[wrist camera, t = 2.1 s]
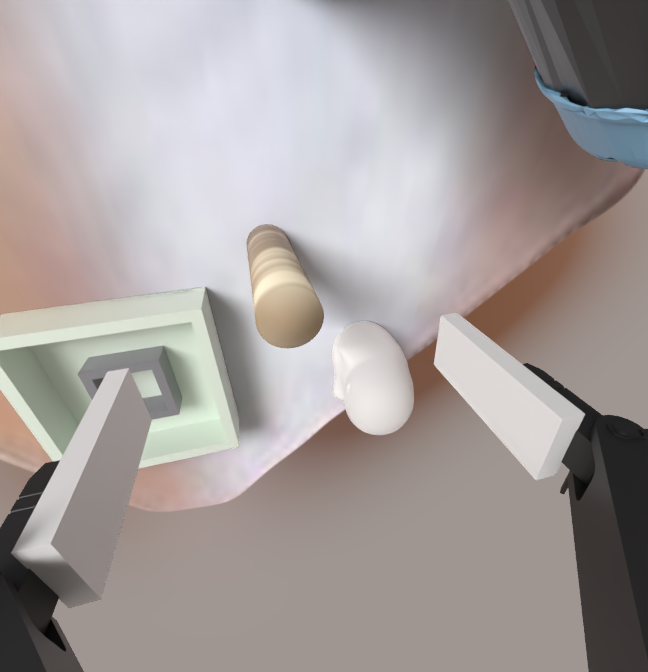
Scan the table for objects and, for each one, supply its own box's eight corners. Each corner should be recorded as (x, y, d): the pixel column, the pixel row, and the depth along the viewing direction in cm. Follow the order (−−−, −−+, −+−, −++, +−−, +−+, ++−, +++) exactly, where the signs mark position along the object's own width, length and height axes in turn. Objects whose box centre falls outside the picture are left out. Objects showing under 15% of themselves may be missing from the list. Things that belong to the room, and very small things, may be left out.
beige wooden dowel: (243, 226, 28) (250, 292, 16) (285, 222, 29) (321, 282, 17) (250, 267, 30) (261, 353, 18) (290, 262, 31) (325, 342, 19)
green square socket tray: (2, 314, 27) (-34, 342, 24) (205, 286, 30) (201, 308, 26) (86, 446, 36) (69, 483, 32) (238, 416, 38) (239, 446, 35)
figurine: (324, 317, 34) (361, 392, 24) (393, 314, 36) (454, 383, 26) (320, 373, 38) (351, 459, 28) (382, 368, 40) (433, 447, 30)
